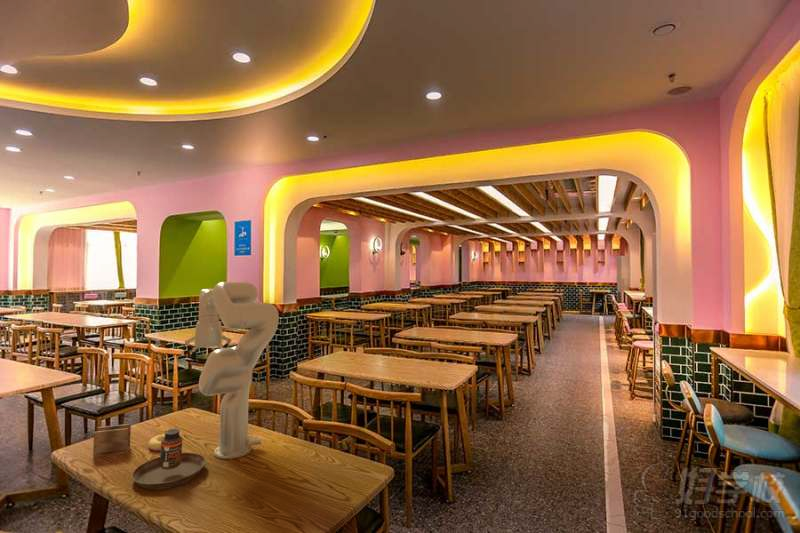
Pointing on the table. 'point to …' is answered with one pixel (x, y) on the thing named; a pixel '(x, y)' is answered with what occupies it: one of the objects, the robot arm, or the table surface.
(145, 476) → the plant saucer
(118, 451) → the napkin holder
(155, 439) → the donut
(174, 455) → the supplement bottle
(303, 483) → the table surface
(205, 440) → the table surface
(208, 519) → the table surface
